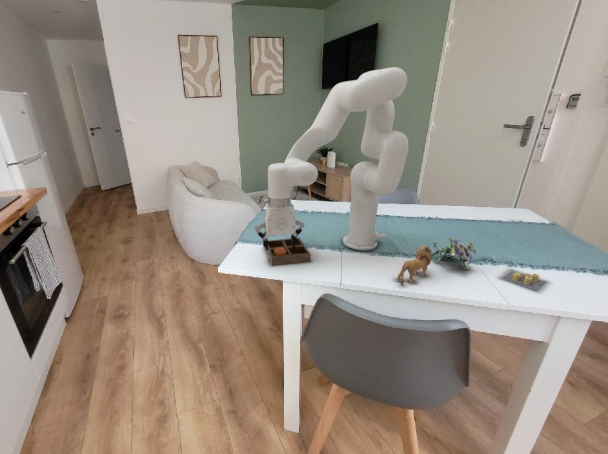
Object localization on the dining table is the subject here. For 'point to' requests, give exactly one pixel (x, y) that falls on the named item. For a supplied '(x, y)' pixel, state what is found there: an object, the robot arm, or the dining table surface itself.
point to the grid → (288, 252)
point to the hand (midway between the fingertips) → (279, 247)
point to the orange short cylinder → (279, 252)
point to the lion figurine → (416, 264)
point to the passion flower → (457, 252)
